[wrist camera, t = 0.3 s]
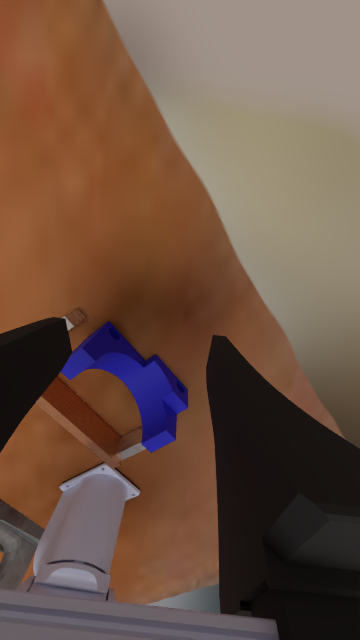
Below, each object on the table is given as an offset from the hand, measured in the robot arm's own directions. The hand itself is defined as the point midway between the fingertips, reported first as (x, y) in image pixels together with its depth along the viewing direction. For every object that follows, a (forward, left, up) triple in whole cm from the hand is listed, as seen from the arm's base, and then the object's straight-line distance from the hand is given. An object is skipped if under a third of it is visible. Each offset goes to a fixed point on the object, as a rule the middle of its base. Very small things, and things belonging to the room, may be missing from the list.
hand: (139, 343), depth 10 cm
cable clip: (-7, -5, -11) cm, 14 cm away
